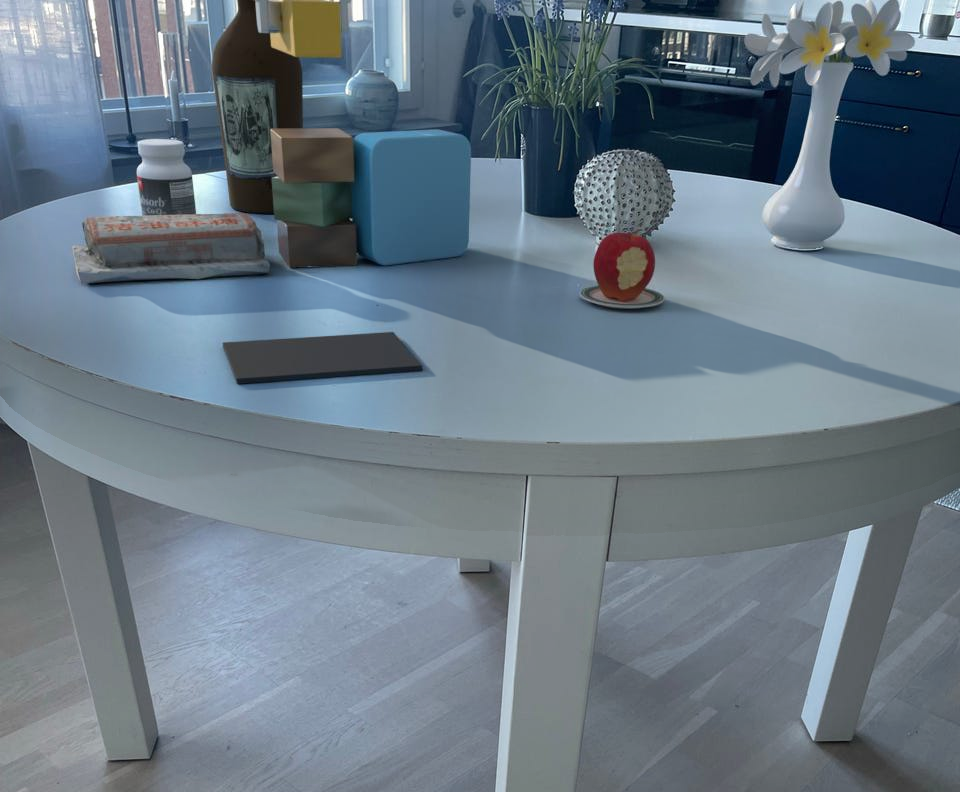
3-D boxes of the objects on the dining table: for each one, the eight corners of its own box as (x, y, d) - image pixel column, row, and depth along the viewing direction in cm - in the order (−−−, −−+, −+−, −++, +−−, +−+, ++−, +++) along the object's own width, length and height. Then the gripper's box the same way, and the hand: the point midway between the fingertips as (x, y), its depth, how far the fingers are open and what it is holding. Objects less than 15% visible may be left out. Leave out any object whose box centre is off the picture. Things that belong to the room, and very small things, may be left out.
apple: (680, 303, 97) (690, 230, 93) (628, 317, 92) (637, 242, 88) (614, 286, 101) (621, 216, 98) (562, 299, 96) (567, 226, 93)
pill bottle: (134, 241, 111) (120, 141, 106) (175, 233, 115) (163, 136, 110) (170, 249, 108) (157, 147, 103) (210, 241, 112) (199, 142, 107)
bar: (295, 57, 64) (291, 1, 62) (271, 47, 72) (267, -3, 70) (342, 57, 64) (339, 2, 63) (313, 48, 72) (310, -2, 71)
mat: (237, 384, 74) (236, 378, 73) (222, 347, 81) (222, 342, 81) (422, 370, 78) (422, 365, 77) (393, 336, 85) (393, 331, 85)
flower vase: (745, 226, 129) (783, -6, 116) (887, 250, 120) (946, 0, 106) (694, 241, 121) (729, -8, 107) (842, 268, 111) (901, -2, 98)
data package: (446, 247, 113) (448, 128, 107) (469, 255, 110) (472, 133, 104) (352, 258, 108) (348, 133, 101) (373, 267, 104) (370, 139, 98)
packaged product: (249, 205, 105) (267, 224, 98) (253, 253, 108) (271, 276, 100) (65, 210, 100) (69, 231, 92) (74, 261, 102) (79, 286, 95)
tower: (284, 270, 102) (274, 138, 96) (271, 251, 109) (262, 127, 103) (365, 266, 105) (361, 138, 98) (348, 248, 111) (343, 127, 105)
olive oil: (245, 197, 135) (225, -28, 121) (321, 202, 133) (309, -25, 120) (211, 211, 126) (185, -29, 112) (292, 217, 124) (276, -26, 111)
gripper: (104, -266, 55) (144, 33, 62) (466, -233, 60) (462, 38, 68) (102, -247, 59) (139, 28, 67) (436, -217, 65) (435, 33, 73)
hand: (304, 33), depth 67 cm, fingers closed on bar, 3 cm apart
